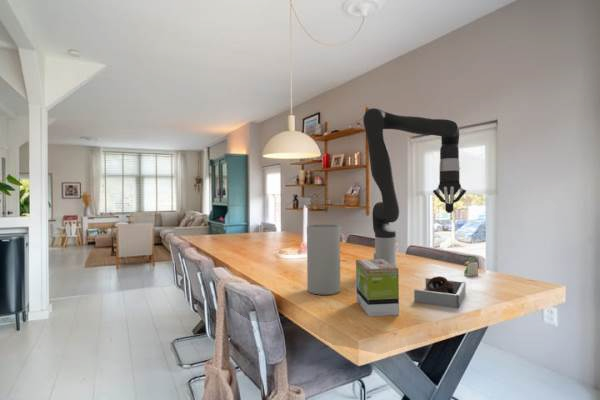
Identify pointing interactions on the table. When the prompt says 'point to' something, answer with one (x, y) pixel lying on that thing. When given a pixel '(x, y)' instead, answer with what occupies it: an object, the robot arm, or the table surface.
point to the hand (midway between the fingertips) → (449, 212)
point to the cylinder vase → (323, 259)
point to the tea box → (377, 287)
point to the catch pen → (442, 295)
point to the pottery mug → (440, 285)
